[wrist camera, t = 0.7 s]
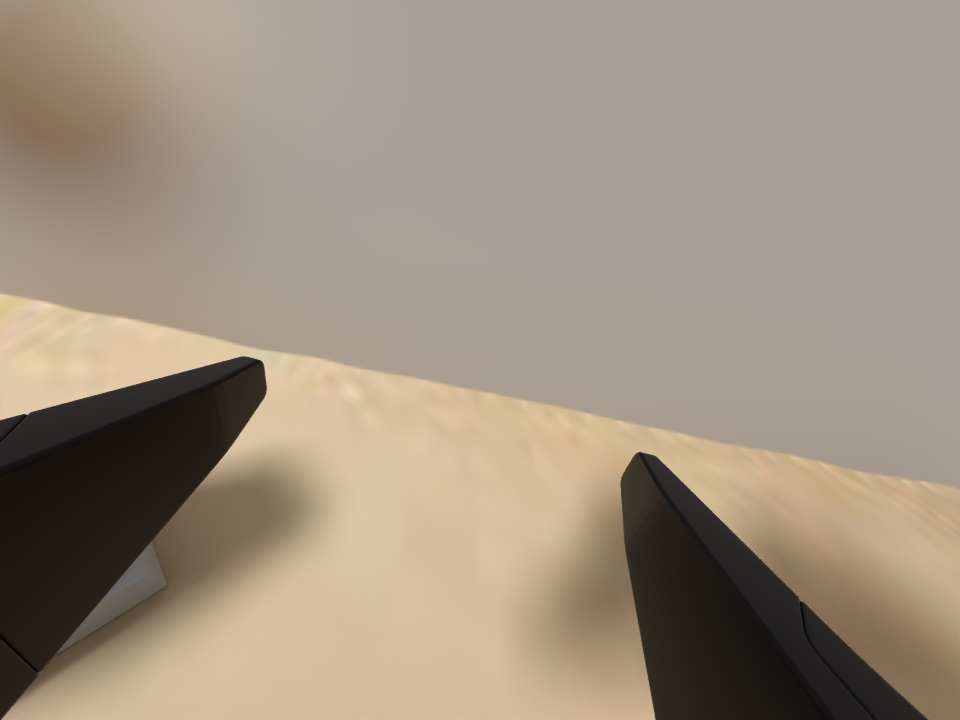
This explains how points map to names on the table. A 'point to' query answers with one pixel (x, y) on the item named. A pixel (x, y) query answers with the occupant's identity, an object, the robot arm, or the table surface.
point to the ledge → (124, 594)
